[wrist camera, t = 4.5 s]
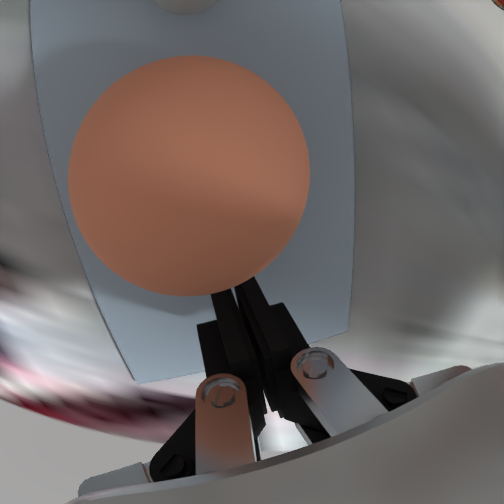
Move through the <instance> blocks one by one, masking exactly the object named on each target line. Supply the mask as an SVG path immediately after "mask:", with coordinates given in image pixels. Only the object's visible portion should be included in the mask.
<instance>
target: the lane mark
mask: <svg viewBox="0 0 504 504" xmlns="http://www.w3.org/2000/svg"><path fill="white" fill-rule="evenodd" d="M30 20H31V41H32V54H33V65H34V74H35V82H36V90H37V97H38V103H39V109H40V115H41V121H42V126H43V131H44V136H45V141H46V145H47V150H48V154H49V159H50V163H51V167H52V171H53V175H54V179H55V182H56V186H57V190H58V193H59V197H60V200H61V204H62V207H63V210H64V214H65V217H66V220H67V223H68V226H69V229H70V232H71V235H72V238H73V241H74V244H75V247H76V250H77V252H78V255H79V258H80V261H81V263H82V266H83V268H84V271H85V274H86V276H87V279H88V281H89V284H90V286H91V289H92V291H93V293H94V296H95V298H96V300H97V303H98V305H99V307H100V310H101V312H102V314H103V316H104V319H105V321H106V323H107V325H108V327H109V329H110V332H111V334H112V336H113V338H114V340H115V342H116V344H117V346H118V348H119V350H120V352H121V354H122V356H123V358H124V360H125V362H126V364H127V366H128V367H129V369H130V371H131V373H132V375H133V377H134V379H135V380H136V382H137V384H143V383H148V382H154V381H160V380H165V379H170V378H175V377H180V376H185V375H190V374H195V373H199V372H204V371H205V367H204V363H203V358H202V353H201V348H200V342H199V337H198V332H197V326H196V324H200V323H205V322H209V321H213V320H217V319H216V315H215V311H214V307H213V303H212V299H211V295H210V294H209V295H202V296H186V297H182V296H172V295H164V294H159V293H156V292H152V291H149V290H146V289H143V288H141V287H138V286H136V285H134V284H132V283H130V282H128V281H126V280H124V279H123V278H122V277H120V276H119V275H117V274H116V273H114V272H113V271H112V270H110V269H109V268H108V267H107V266H106V265H105V264H104V263H103V262H102V261H101V260H100V259H99V258H98V257H97V256H96V255H95V253H94V252H93V251H92V249H91V248H90V247H89V245H88V244H87V242H86V241H85V239H84V238H83V236H82V234H81V232H80V230H79V228H78V226H77V223H76V220H75V217H74V214H73V211H72V207H71V204H70V197H69V190H68V166H69V160H70V154H71V150H72V146H73V142H74V140H75V137H76V134H77V132H78V129H79V127H80V125H81V123H82V121H83V119H84V118H85V116H86V114H87V113H88V111H89V109H90V108H91V107H92V106H93V104H94V103H95V102H96V101H97V100H98V98H99V97H100V96H101V95H102V94H103V92H105V91H106V90H107V89H108V88H109V87H110V86H111V85H112V84H113V83H115V82H116V81H117V80H119V79H120V78H122V77H123V76H124V75H126V74H128V73H130V72H131V71H133V70H135V69H137V68H139V67H141V66H143V65H146V64H149V63H151V62H154V61H157V60H161V59H165V58H170V57H178V56H194V55H199V56H208V57H214V58H218V59H222V60H226V61H229V62H233V63H235V64H238V65H240V66H242V67H244V68H246V69H248V70H250V71H252V72H253V73H255V74H257V75H258V76H260V77H261V78H262V79H264V80H265V81H266V82H268V83H269V84H270V85H271V86H272V87H273V88H274V89H275V90H276V91H277V92H278V93H279V94H280V95H281V96H282V97H283V98H284V100H285V101H286V102H287V104H288V105H289V107H290V108H291V110H292V111H293V113H294V114H295V116H296V118H297V120H298V122H299V124H300V126H301V129H302V132H303V135H304V138H305V141H306V145H307V148H308V155H309V163H310V185H309V191H308V196H307V201H306V206H305V209H304V212H303V215H302V217H301V220H300V222H299V225H298V227H297V229H296V230H295V232H294V234H293V236H292V238H291V239H290V241H289V242H288V244H287V245H286V246H285V247H284V249H283V250H282V251H281V253H280V254H279V255H278V256H277V257H276V258H275V259H274V260H273V261H272V262H271V263H270V264H269V265H268V266H267V267H266V268H264V269H263V270H262V271H261V272H259V273H258V274H256V275H255V276H254V277H255V278H256V280H257V282H258V284H259V286H260V288H261V290H262V292H263V294H264V296H265V298H266V300H267V302H268V304H269V306H270V305H274V304H277V303H281V302H283V303H284V304H285V306H286V308H287V309H288V311H289V313H290V314H291V316H292V318H293V320H294V321H295V323H296V325H297V326H298V328H299V330H300V331H301V333H302V335H303V337H304V338H305V340H306V342H307V343H308V344H310V343H313V342H316V341H319V340H322V339H325V338H329V337H332V336H335V335H338V334H341V333H344V332H347V331H348V325H349V314H350V301H351V288H352V272H353V251H354V218H355V167H354V134H353V115H352V99H351V86H350V75H349V64H348V55H347V46H346V37H345V30H344V22H343V15H342V9H341V2H340V0H217V1H216V2H215V3H214V4H213V5H212V6H211V7H209V8H208V9H206V10H204V11H201V12H198V13H195V14H187V15H181V14H175V13H171V12H168V11H166V10H164V9H163V8H161V7H160V6H159V5H158V4H157V3H156V2H155V1H154V0H30ZM231 290H232V293H233V295H234V298H235V301H236V303H237V299H236V294H235V289H234V287H232V288H231ZM237 306H238V304H237Z"/></svg>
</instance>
